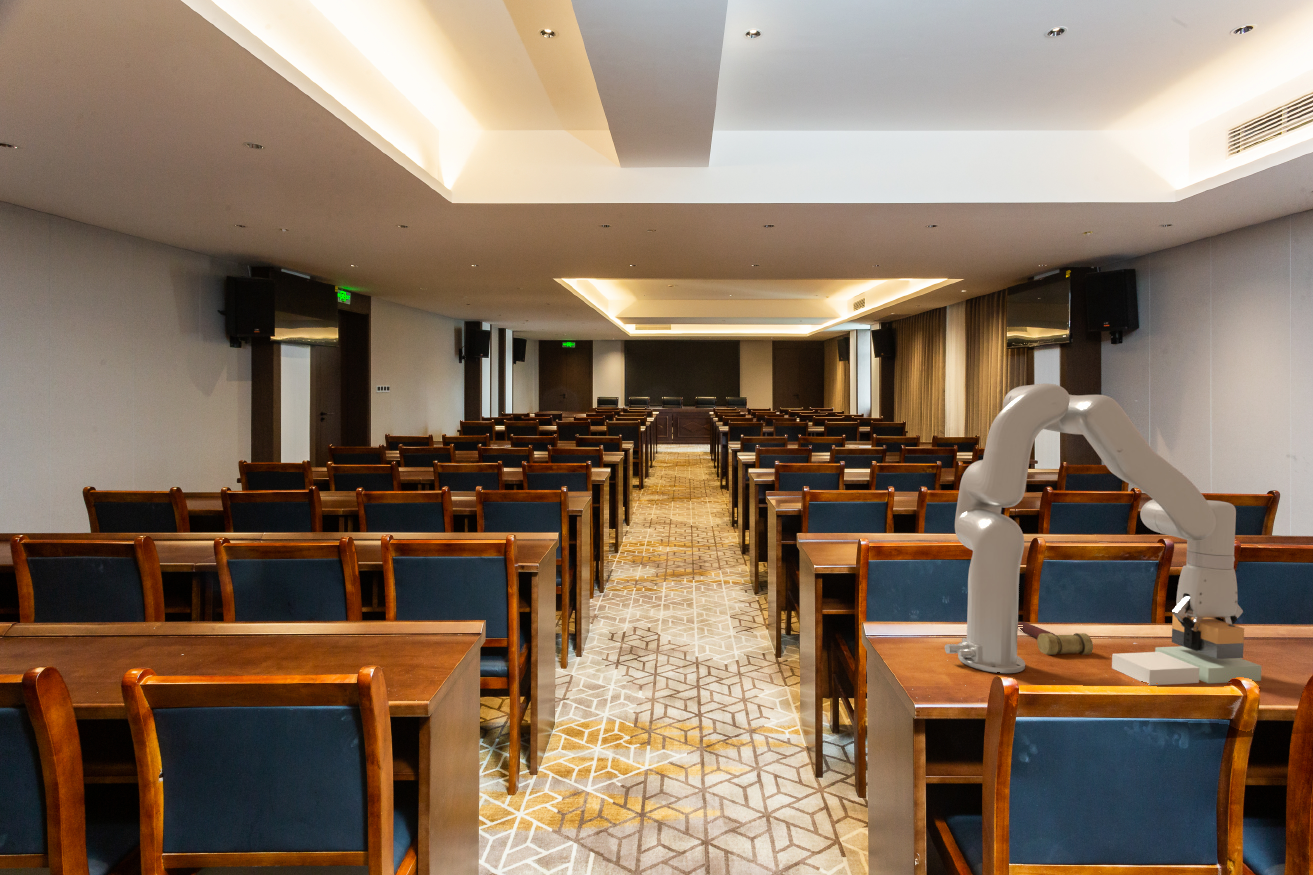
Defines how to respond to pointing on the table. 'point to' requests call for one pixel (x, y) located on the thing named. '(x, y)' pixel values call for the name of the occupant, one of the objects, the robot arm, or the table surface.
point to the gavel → (1058, 641)
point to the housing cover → (1215, 631)
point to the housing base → (1212, 647)
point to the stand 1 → (1155, 668)
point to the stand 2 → (1214, 665)
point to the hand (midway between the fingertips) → (1206, 646)
